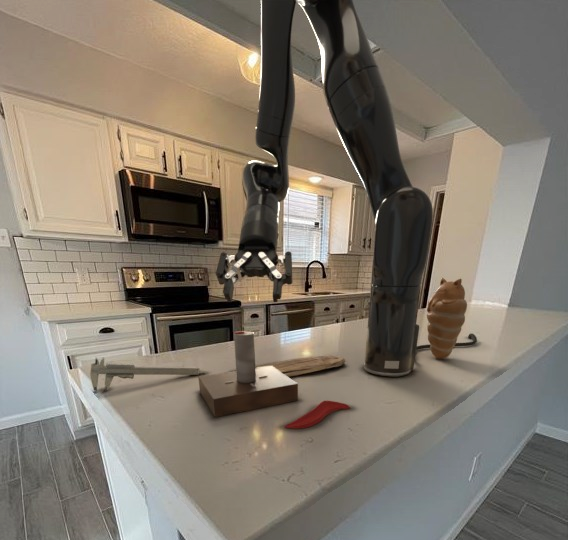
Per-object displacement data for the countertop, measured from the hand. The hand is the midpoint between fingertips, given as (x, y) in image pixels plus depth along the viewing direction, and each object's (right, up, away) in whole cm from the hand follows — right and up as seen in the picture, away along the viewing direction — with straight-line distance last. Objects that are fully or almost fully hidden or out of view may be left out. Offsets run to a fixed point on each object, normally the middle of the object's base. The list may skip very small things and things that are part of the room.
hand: (251, 299), depth 58 cm
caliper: (-20, -15, +4) cm, 25 cm away
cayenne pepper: (+11, -20, -10) cm, 25 cm away
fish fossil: (+7, -12, +11) cm, 18 cm away
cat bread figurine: (+43, -10, +17) cm, 47 cm away
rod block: (0, -17, -3) cm, 18 cm away
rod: (-1, -15, -4) cm, 15 cm away
